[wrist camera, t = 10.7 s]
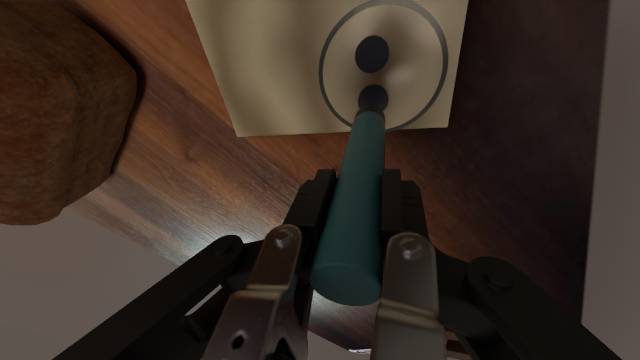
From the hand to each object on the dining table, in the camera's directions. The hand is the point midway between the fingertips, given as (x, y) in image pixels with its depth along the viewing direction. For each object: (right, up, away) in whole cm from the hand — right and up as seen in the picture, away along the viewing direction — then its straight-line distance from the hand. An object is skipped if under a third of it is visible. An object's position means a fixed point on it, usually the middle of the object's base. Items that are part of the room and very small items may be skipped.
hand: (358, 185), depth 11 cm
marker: (+2, +5, +6) cm, 8 cm away
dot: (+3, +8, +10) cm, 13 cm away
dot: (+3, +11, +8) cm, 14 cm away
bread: (-33, +9, +21) cm, 40 cm away
